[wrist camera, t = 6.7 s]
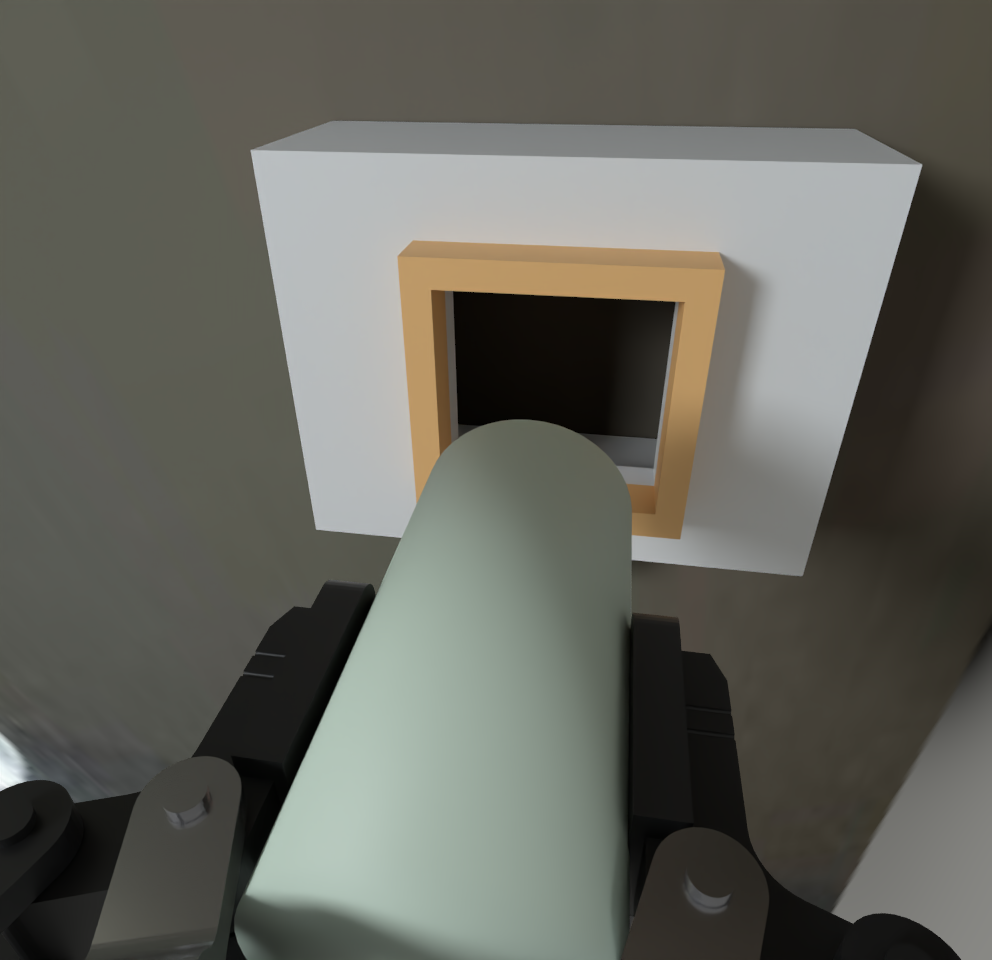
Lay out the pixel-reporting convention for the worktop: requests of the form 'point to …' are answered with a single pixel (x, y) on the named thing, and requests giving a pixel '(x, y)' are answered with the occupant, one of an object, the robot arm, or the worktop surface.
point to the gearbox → (596, 274)
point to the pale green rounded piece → (472, 730)
